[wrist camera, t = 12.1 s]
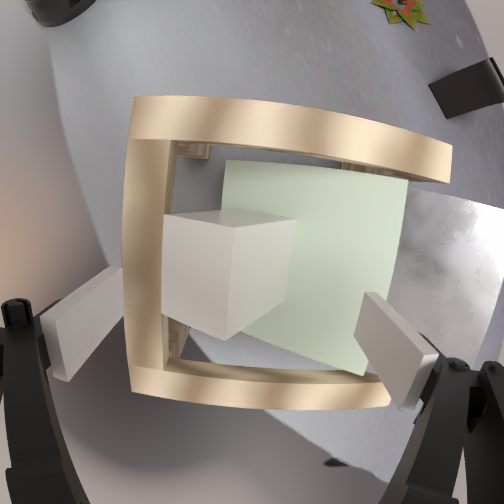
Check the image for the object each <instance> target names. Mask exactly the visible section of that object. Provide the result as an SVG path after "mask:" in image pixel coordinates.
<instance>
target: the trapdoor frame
mask: <svg viewBox="0 0 504 504" xmlns="http://www.w3.org/2000/svg"><path fill="white" fill-rule="evenodd" d="M211 145H217V146H229V147H240V148H251V149H260V150H269V151H277V152H285V153H292V154H299V155H306V156H312V157H319V158H325V159H331V160H336V161H342V167H341V170H348V171H355V172H362V173H369V174H375V175H382V176H388V177H394V178H399V179H405V180H408V181H418V182H434V183H447V184H449V183H450V172H451V159H452V145H450V144H447V143H444V142H441V141H438V140H435V139H433V138H430V137H427V136H424V135H420V134H417V133H414V132H411V131H408V130H404V129H401V128H397V127H394V126H390V125H387V124H383V123H379V122H375V121H371V120H367V119H363V118H359V117H354V116H350V115H345V114H341V113H336V112H331V111H326V110H320V109H315V108H309V107H303V106H297V105H290V104H283V103H275V102H267V101H258V100H248V99H237V98H223V97H204V96H136V97H134V102H133V108H132V115H131V122H130V129H129V137H128V146H127V155H126V165H125V177H124V192H123V211H122V268H123V298H124V325H125V337H126V348H127V357H128V366H129V374H130V381H131V387H132V391H133V392H137V393H142V394H147V395H152V396H157V397H163V398H169V399H174V400H181V401H187V402H194V403H202V404H211V405H219V406H229V407H240V408H254V409H274V410H336V409H355V408H369V407H380V406H388V405H389V403H390V400H391V397H390V395H389V393H388V392H387V390H386V388H385V387H384V385H383V383H382V382H381V380H380V378H379V377H378V375H377V374H373V373H370V372H367V371H365V373H364V375H363V376H361V375H358V374H355V373H351V372H348V371H345V370H291V369H272V368H257V367H244V366H233V365H223V364H214V363H205V362H197V361H190V360H183V359H179V358H180V355H181V352H182V349H183V346H184V344H185V341H186V338H187V336H188V333H189V330H190V328H191V327H190V326H188V325H185V324H183V323H181V322H179V321H177V320H174V319H172V318H170V317H168V316H166V315H164V314H162V313H161V273H162V240H163V220H164V214H171V213H172V199H173V187H174V176H175V165H176V155H179V156H182V157H185V158H194V159H208V160H210V151H211Z"/></svg>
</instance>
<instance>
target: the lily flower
mask: <svg viewBox="0 0 504 504" xmlns="http://www.w3.org/2000/svg"><path fill="white" fill-rule="evenodd" d="M403 2H405V3H403ZM371 3H372V4H376V5H380V6H383V7H385V11H386V14H387V17H388V20H389V24H391V23H395V22H400V21H403V20H405V21H406V22H407V23H408V24H409V25H410V26H411V27H412V28H413V30H414V31H415V27H416V24H417V21H419V22H423V23H428V24H430V23H429V21H428V20H427V19H426V16H425V15H424V13H423V12H422V11H421V10H420V9H421V8H422V7H423V5H424V3H422V2H421V1H420V0H398V3H399V4H405V5H406V6H405V9H404V10H402V9H400V8H398V7H396V6H395V5H394V4H392V0H373V1H372V2H371ZM391 10H397V11H398V13H399V14H398V15H394V16H393V13H392V11H391ZM412 10H414V11H415V12H416V14H417V15H418V16H419V17H418V16H416V15H415V13H414V12H413V11H412ZM430 25H431V24H430Z"/></svg>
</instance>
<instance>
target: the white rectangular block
mask: <svg viewBox="0 0 504 504" xmlns="http://www.w3.org/2000/svg"><path fill="white" fill-rule="evenodd" d="M295 223H296V219H294V218H288V217H282V216H277V215H271V214H265V213H259V212H253V211H247V210H240V209H232V210H215V211H200V212H186V213H174V214H164V220H163V240H162V273H161V313H162V314H164V315H166V316H168V317H170V318H172V319H174V320H177V321H179V322H181V323H183V324H185V325H188V326H190V327H192V328H194V329H197V330H199V331H201V332H203V333H206V334H208V335H210V336H213V337H215V338H217V339H220V340H222V341H226V340H228V339H229V338H231V337H232V336H234V335H235V334H236V333H238V332H239V331H241V330H242V329H244V328H245V327H247V326H248V325H250V324H251V323H253V322H254V321H256V320H257V319H258V318H260V317H261V316H263V315H264V314H266V313H267V312H268V311H270V310H271V309H273V308H274V307H276V306H277V305H278V304H280V303H281V302H283V301H284V300H285V293H286V287H287V280H288V273H289V266H290V259H291V252H292V245H293V238H294V230H295Z"/></svg>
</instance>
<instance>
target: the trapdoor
mask: <svg viewBox="0 0 504 504" xmlns="http://www.w3.org/2000/svg"><path fill="white" fill-rule="evenodd" d="M408 183H409V181H408V180H405V179H399V178H394V177H388V176H382V175H375V174H369V173H362V172H355V171H348V170H340V169H332V168H324V167H315V166H306V165H295V164H284V163H272V162H258V161H242V160H226V164H225V174H224V183H223V193H222V204H221V210H232V209H240V210H247V211H253V212H259V213H265V214H271V215H277V216H282V217H288V218H294V219H296V223H295V230H294V238H293V245H292V252H291V259H290V266H289V273H288V280H287V287H286V293H285V300H284V301H283V302H281V303H280V304H278V305H277V306H276V307H274V308H273V309H271V310H270V311H268V312H267V313H266V314H264V315H263V316H261V317H260V318H258V319H257V320H256V321H254V322H253V323H251V324H250V325H248V326H247V327H245V328H244V329H242V330H241V331H240V332H242V333H245V334H247V335H250V336H252V337H255V338H257V339H260V340H262V341H265V342H267V343H270V344H272V345H275V346H278V347H280V348H283V349H286V350H288V351H291V352H294V353H296V354H299V355H302V356H305V357H307V358H310V359H313V360H316V361H319V362H322V363H324V364H327V365H330V366H333V367H336V368H339V369H342V370H345V371H348V372H351V373H355V374H358V375H361V376H363V375H364V373H365V371H367V372H370V373H373V374H377V373H376V372H375V370H374V368H373V367H372V365H371V364H370V362H369V360H368V359H367V357H366V355H365V354H364V352H363V351H362V349H361V347H360V346H359V344H358V343H357V341H356V339H355V338H354V332H355V328H356V324H357V321H358V317H359V313H360V309H361V304H362V300H363V296H364V292H377V293H378V294H379V295H380V296H381V297H382V298H383V299H384V300H385V301H386V302H387V303H388V304H389V305H390V306H391V307H393V308H394V309H395V310H396V311H397V312H398V313H399V314H400V315H401V316H402V317H403V318H404V319H405V320H406V321H407V322H408V323H409V324H410V325H411V326H412V327H413V328H414V329H415V330H416V331H417V332H419V333H421V334H422V335H424V336H425V337H426V338H427V339H428V340H429V341H430V342H432V343H433V344H434V345H435V347H437V349H438V350H439V351H440V352H441V353H442V354H443V355H444V356H445V357H446V358H448V357H454V358H459V359H461V360H463V361H465V362H466V363H467V364H468V365H469V366H470V369H471V368H472V365H473V363H474V361H475V359H476V356H477V354H478V351H479V349H480V347H481V344H482V342H483V339H484V336H485V334H486V331H487V328H488V326H489V323H490V320H491V317H492V314H493V311H494V308H495V305H496V302H497V298H498V295H499V291H500V288H501V284H502V281H503V277H504V210H503V209H499V208H495V207H492V206H488V205H484V204H480V203H476V202H472V201H470V200H465V199H461V198H457V197H453V196H448V195H444V194H439V193H435V192H430V191H425V190H420V189H415V188H410V187H408Z"/></svg>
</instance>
